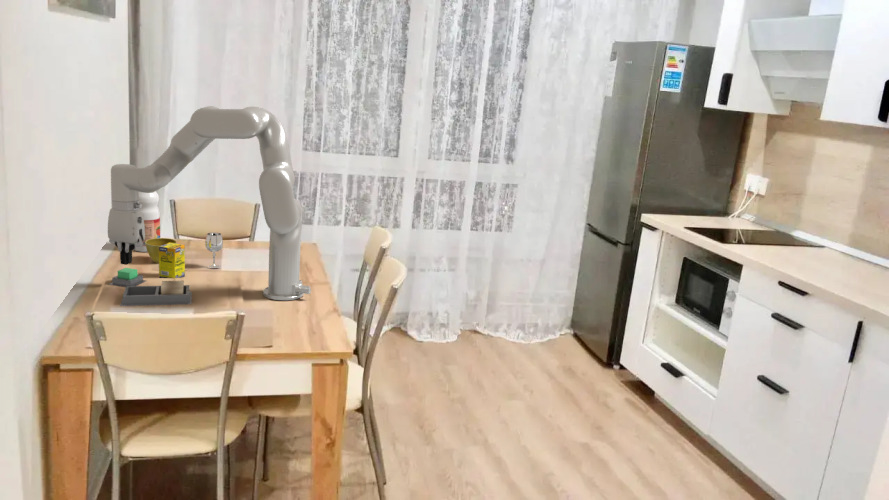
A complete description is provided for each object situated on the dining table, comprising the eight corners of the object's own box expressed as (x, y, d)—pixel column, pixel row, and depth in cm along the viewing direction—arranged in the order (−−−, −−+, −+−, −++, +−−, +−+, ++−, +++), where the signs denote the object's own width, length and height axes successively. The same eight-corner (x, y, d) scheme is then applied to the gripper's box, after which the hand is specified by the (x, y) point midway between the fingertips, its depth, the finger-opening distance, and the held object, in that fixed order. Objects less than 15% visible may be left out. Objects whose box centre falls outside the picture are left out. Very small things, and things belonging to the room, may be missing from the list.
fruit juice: (128, 247, 253) (126, 172, 246) (154, 244, 260) (152, 171, 253) (138, 253, 247) (136, 176, 240) (164, 250, 254) (163, 175, 246)
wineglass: (209, 270, 236) (209, 236, 233) (202, 266, 240) (202, 232, 237) (225, 268, 239) (225, 235, 236) (218, 264, 244) (218, 231, 240)
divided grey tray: (191, 294, 211) (191, 284, 210) (191, 307, 201) (191, 296, 200) (124, 296, 205) (123, 285, 204) (120, 309, 195) (119, 297, 194)
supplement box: (175, 281, 222) (174, 248, 219) (158, 278, 223) (158, 246, 220) (185, 276, 228) (185, 244, 225) (169, 273, 229) (168, 242, 226)
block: (183, 294, 208) (183, 280, 207) (183, 301, 202) (183, 286, 201) (162, 295, 206) (162, 280, 205) (161, 301, 200) (160, 287, 199)
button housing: (147, 283, 217) (147, 274, 216) (131, 291, 210) (131, 281, 209) (124, 280, 219) (124, 271, 218) (108, 287, 211) (107, 278, 210)
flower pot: (163, 267, 235) (163, 247, 233) (139, 262, 237) (138, 242, 236) (182, 260, 244) (182, 240, 242) (158, 255, 247) (158, 236, 245)
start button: (137, 277, 215) (137, 269, 214) (129, 280, 211) (129, 272, 211) (126, 275, 216) (125, 267, 215) (117, 278, 212) (117, 271, 211)
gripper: (155, 206, 210) (155, 264, 215) (111, 200, 212) (112, 257, 217) (139, 211, 203) (140, 270, 207) (94, 204, 205) (96, 262, 210)
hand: (126, 263), depth 212 cm, fingers closed
